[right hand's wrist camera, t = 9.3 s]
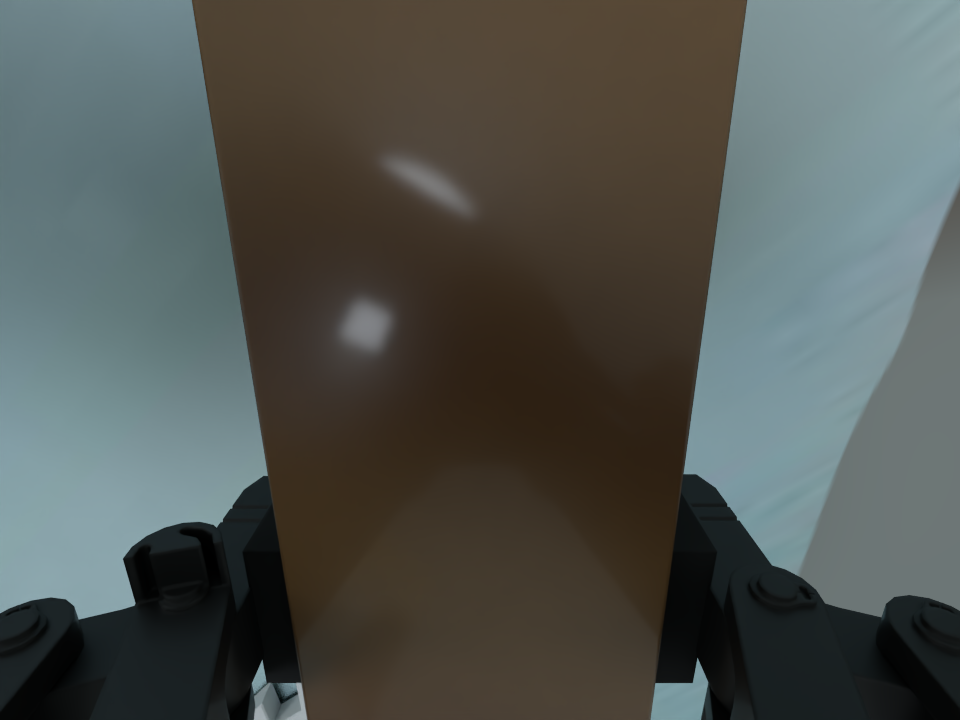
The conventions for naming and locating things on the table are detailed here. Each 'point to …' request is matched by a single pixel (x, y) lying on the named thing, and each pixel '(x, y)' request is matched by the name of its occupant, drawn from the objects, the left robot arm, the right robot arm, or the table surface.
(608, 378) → the beam
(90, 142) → the table surface
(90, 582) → the table surface
